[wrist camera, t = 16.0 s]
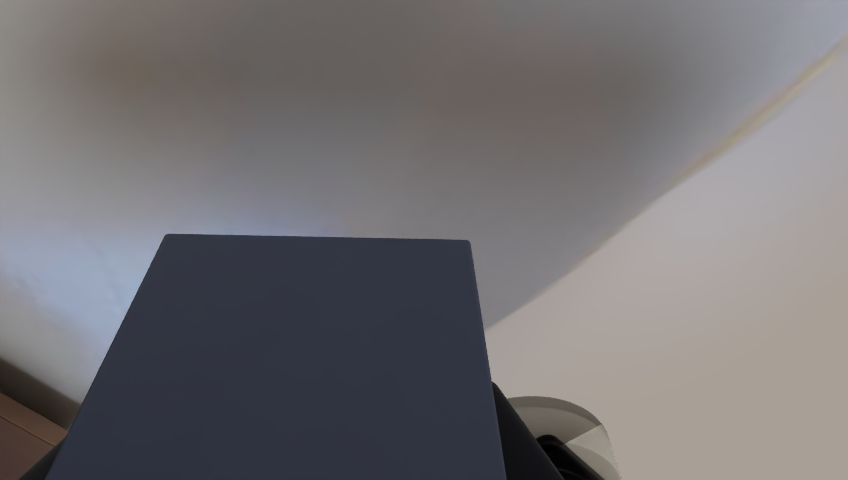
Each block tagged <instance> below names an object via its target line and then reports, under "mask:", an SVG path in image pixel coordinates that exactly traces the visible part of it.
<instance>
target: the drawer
mask: <svg viewBox="0 0 848 480" xmlns="http://www.w3.org/2000/svg"><path fill="white" fill-rule="evenodd" d="M67 433H68V430H66V429H64V428H62V427H61V426H59V425H57V424H55V423H54V422H52V421H50V420H48V419H46V418H45V417H43V416H41V415H39V414H38V413H36V412H34V411H32V410H31V409H29V408H27V407H25V406H24V405H22V404H20V403H18V402H17V401H15V400H13V399H11V398H10V397H8V396H6V395H4V394H2V393H1V392H0V480H18V479H19V478H20V477H21V476H22V475H24V474H25V473H26V472H27V471H28V470H29V469H30V468H31V467H32V466H33V465H35V464H36V463H37V462H38V461H39V460H40V459H41V458H42V457H43V456H45V455H46V454H47V453H48V452H49V451H50V450H51V449H52V448H53V447H55V446H56V445H57V444H58V443H59V442H60V441H61V440H62V439H63V438H64V437H66V435H67Z"/></svg>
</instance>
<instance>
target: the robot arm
mask: <svg viewBox="0 0 848 480" xmlns="http://www.w3.org/2000/svg"><path fill="white" fill-rule="evenodd" d="M492 387H493V394H494V401H495V407H496V414H497V420H498V427H499V433H500V440H501V446H502V453H503V459H504V466H505V472H506V479H507V480H605V479H604V478H602V477H601V476H600V475H599V474H598V473H597V472H596V471H594V470H593V469H592V468H591V467H590V466H589V465H588V464H587V463H585V462H584V461H583V460H582V459H581V458H580V457H579V456H578V455H576V454H575V453H574V452H573V451H572V450H571V449H570V448H568V447H567V446H566V445H565V444H564V443H563V442H562V441H561V440H559V439H558V438H557V437H556V436H554V435H550V434H547V435H542V436H539V437H537V438H536V439H535V438H534V436H533V435H532V434H531V432H530V431H529V429H528V428H527V427H526V425H525V424H524V422H523V421H522V420H521V418H520V417H519V415H518V414H517V413H516V411H515V410H514V408H513V407H512V406H511V404H510V403H509V401H508V400H507V399H506V397H505V396H504V394H503V393H502V392H501V390H500V389H499V388H498V386H497V385H496V384H495V383H494V382H492ZM64 440H65V437H64V438H63V439H62V440H61V441H60V442H59V443H58V444H57V445H56V446H55V447H53V448H52V449H51V450H50V451H49V452H48V453H47V454H46V455H45V456H43V457H42V458H41V459H40V460H39V461H38V462H37V463H36V464H35V465H33V466H32V467H31V468H30V469H29V470H28V471H27V472H26V473H25V474H24V475H22V476H21V477H20V478H19V479H18V480H45V478H46V476H47V474H48V472H49V470H50V468H51V466H52V464H53V462H54V460H55V458H56V456H57V454H58V452H59V450H60V448H61V446H62V444H63V442H64Z"/></svg>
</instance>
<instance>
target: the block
mask: <svg viewBox="0 0 848 480" xmlns="http://www.w3.org/2000/svg"><path fill="white" fill-rule="evenodd" d="M45 480H507V479H506V472H505V466H504V459H503V453H502V446H501V440H500V433H499V427H498V420H497V414H496V407H495V401H494V394H493V387H492V381H491V375H490V368H489V361H488V355H487V349H486V342H485V335H484V329H483V322H482V316H481V309H480V303H479V296H478V290H477V283H476V277H475V270H474V264H473V257H472V251H471V244H470V242H469V241H468V240H446V239H397V238H349V237H300V236H251V235H203V234H166V235H165V236H164V238H163V240H162V242H161V244H160V246H159V249H158V251H157V253H156V255H155V257H154V259H153V261H152V263H151V265H150V267H149V269H148V271H147V273H146V275H145V277H144V279H143V281H142V283H141V285H140V287H139V289H138V291H137V293H136V295H135V297H134V299H133V301H132V303H131V305H130V307H129V309H128V312H127V314H126V316H125V318H124V320H123V322H122V324H121V326H120V328H119V330H118V332H117V334H116V336H115V338H114V340H113V342H112V344H111V346H110V348H109V350H108V352H107V354H106V356H105V358H104V360H103V362H102V364H101V366H100V368H99V370H98V372H97V375H96V377H95V379H94V381H93V383H92V385H91V387H90V389H89V391H88V393H87V395H86V397H85V399H84V401H83V403H82V405H81V407H80V409H79V411H78V413H77V415H76V417H75V419H74V421H73V423H72V425H71V427H70V429H69V431H68V433H67V435H66V437H65V440H64V442H63V444H62V446H61V448H60V450H59V452H58V454H57V456H56V458H55V460H54V462H53V464H52V466H51V468H50V470H49V472H48V474H47V476H46V478H45Z"/></svg>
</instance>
